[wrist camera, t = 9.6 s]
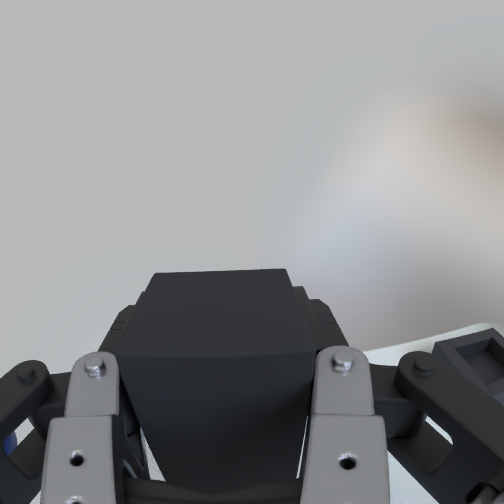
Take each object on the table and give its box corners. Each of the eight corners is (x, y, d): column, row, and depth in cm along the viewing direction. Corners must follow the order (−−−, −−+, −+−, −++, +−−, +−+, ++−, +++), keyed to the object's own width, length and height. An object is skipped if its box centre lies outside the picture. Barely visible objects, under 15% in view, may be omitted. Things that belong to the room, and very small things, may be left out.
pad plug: (190, 526, 9) (111, 353, 6) (194, 457, 13) (153, 271, 9) (286, 524, 9) (318, 348, 6) (277, 455, 13) (286, 267, 9)
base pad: (472, 420, 20) (483, 401, 19) (428, 360, 30) (435, 342, 29) (530, 391, 21) (540, 372, 20) (486, 344, 30) (493, 327, 29)
